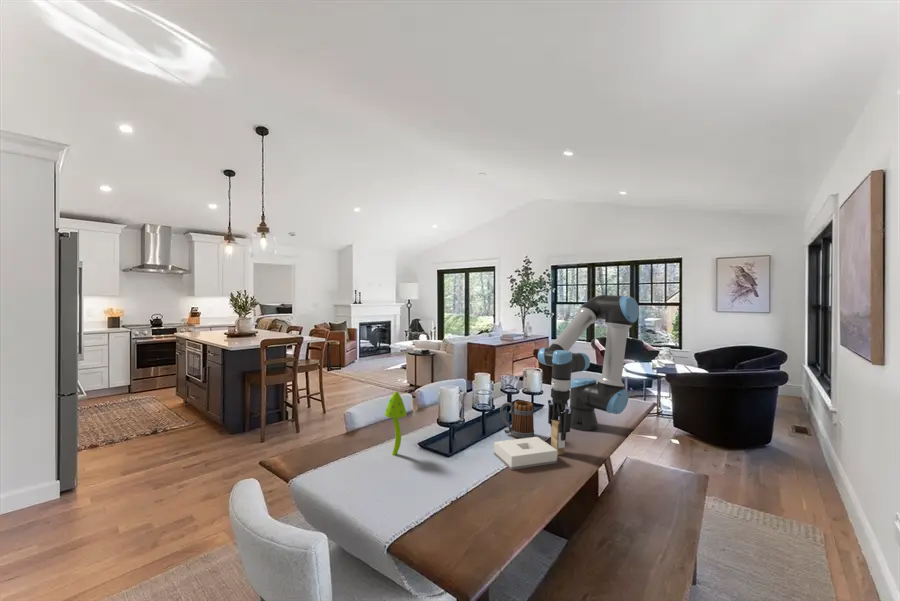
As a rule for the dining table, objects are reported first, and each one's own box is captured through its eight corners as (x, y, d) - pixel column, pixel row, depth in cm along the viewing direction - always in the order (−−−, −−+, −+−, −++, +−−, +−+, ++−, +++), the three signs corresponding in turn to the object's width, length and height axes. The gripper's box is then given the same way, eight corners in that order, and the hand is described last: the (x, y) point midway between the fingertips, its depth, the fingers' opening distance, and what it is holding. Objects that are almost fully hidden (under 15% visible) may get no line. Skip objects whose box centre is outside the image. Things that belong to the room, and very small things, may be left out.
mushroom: (388, 448, 164) (389, 387, 163) (407, 451, 163) (409, 389, 162) (380, 457, 156) (382, 393, 155) (401, 460, 155) (403, 395, 153)
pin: (558, 450, 169) (560, 419, 168) (564, 454, 165) (566, 422, 165) (550, 451, 168) (552, 420, 167) (556, 455, 164) (557, 423, 163)
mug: (532, 432, 188) (534, 400, 187) (535, 441, 177) (536, 407, 177) (498, 430, 190) (500, 398, 189) (499, 438, 179) (500, 405, 178)
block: (536, 448, 170) (537, 436, 170) (556, 462, 157) (557, 450, 157) (493, 454, 163) (494, 441, 163) (511, 469, 150) (511, 456, 149)
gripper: (540, 384, 172) (538, 438, 173) (566, 395, 156) (562, 454, 157) (555, 383, 174) (553, 436, 176) (582, 393, 158) (578, 452, 160)
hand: (557, 445), depth 166 cm, fingers closed on pin, 4 cm apart
